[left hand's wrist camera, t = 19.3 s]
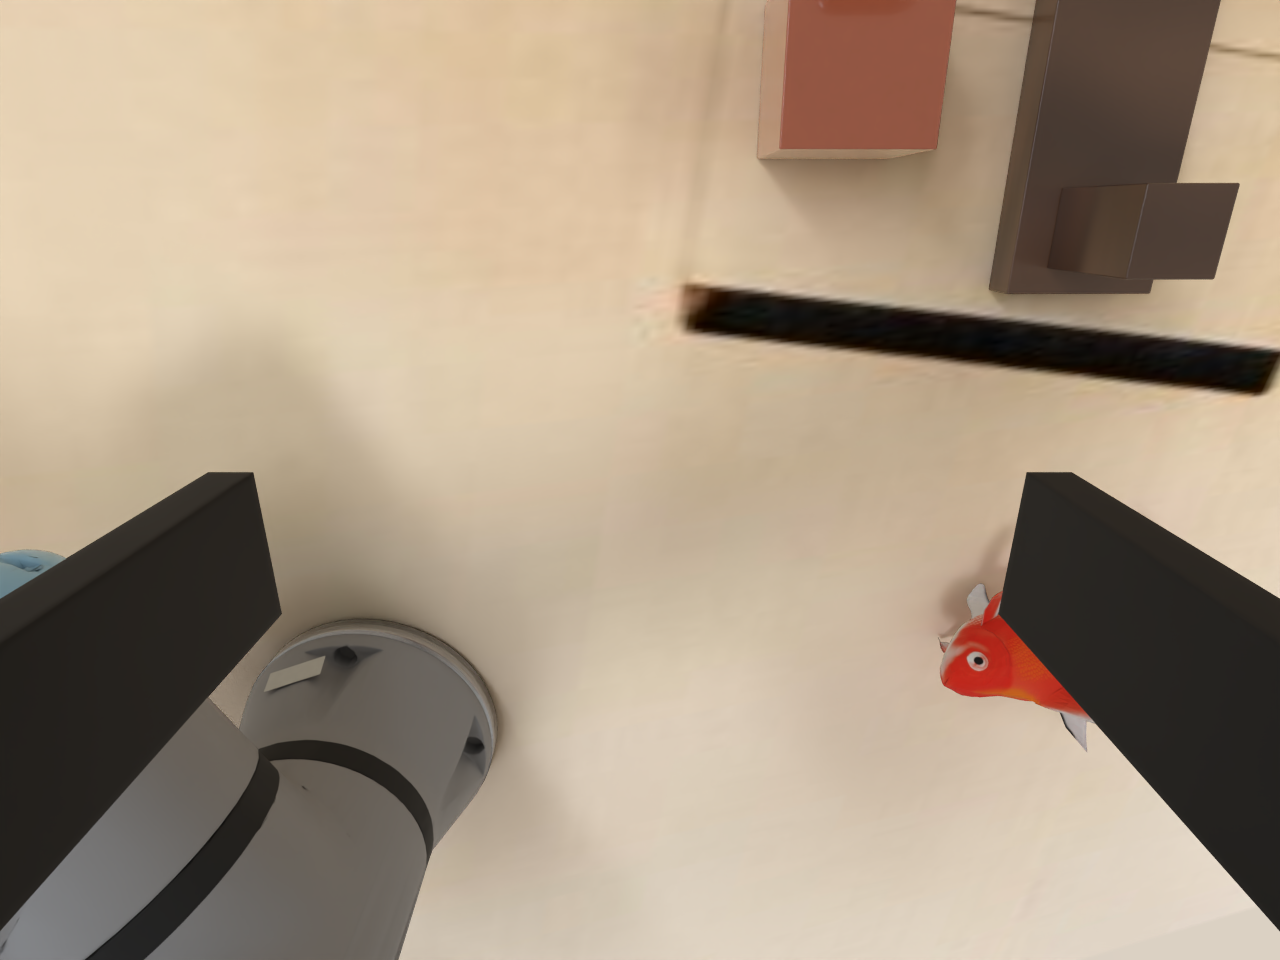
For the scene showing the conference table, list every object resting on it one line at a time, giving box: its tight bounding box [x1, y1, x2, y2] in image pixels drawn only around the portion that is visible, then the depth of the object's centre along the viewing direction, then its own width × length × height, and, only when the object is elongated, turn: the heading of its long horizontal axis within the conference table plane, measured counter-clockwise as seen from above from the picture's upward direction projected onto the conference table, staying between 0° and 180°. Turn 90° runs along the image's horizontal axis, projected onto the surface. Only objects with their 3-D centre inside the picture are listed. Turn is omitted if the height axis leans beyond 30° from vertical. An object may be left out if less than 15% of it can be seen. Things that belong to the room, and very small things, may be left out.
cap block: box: [757, 0, 956, 159], centre depth 31 cm, size 6×6×6 cm
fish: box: [938, 584, 1095, 752], centre depth 40 cm, size 11×16×10 cm
